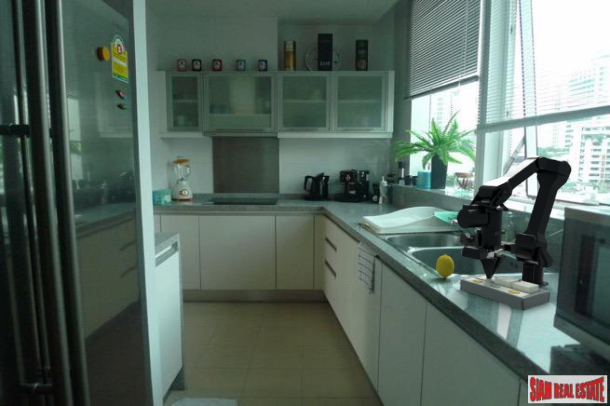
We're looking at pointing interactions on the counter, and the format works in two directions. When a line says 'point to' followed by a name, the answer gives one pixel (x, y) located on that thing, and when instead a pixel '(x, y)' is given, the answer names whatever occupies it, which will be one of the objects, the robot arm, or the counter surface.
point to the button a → (486, 279)
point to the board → (504, 293)
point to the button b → (505, 281)
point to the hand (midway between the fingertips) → (488, 278)
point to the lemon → (445, 266)
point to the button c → (525, 287)
